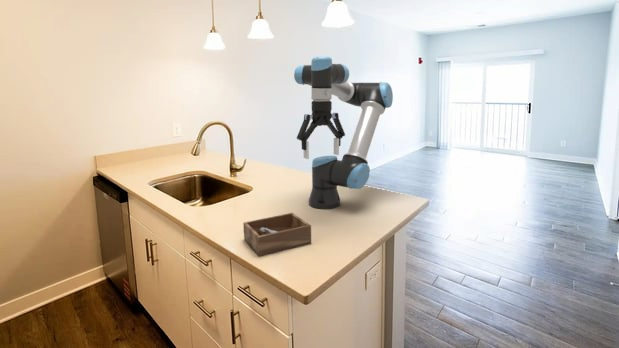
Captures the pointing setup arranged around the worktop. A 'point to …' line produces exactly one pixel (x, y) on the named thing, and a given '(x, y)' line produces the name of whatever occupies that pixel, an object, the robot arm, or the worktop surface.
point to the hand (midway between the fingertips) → (321, 156)
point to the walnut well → (277, 234)
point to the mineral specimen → (266, 231)
